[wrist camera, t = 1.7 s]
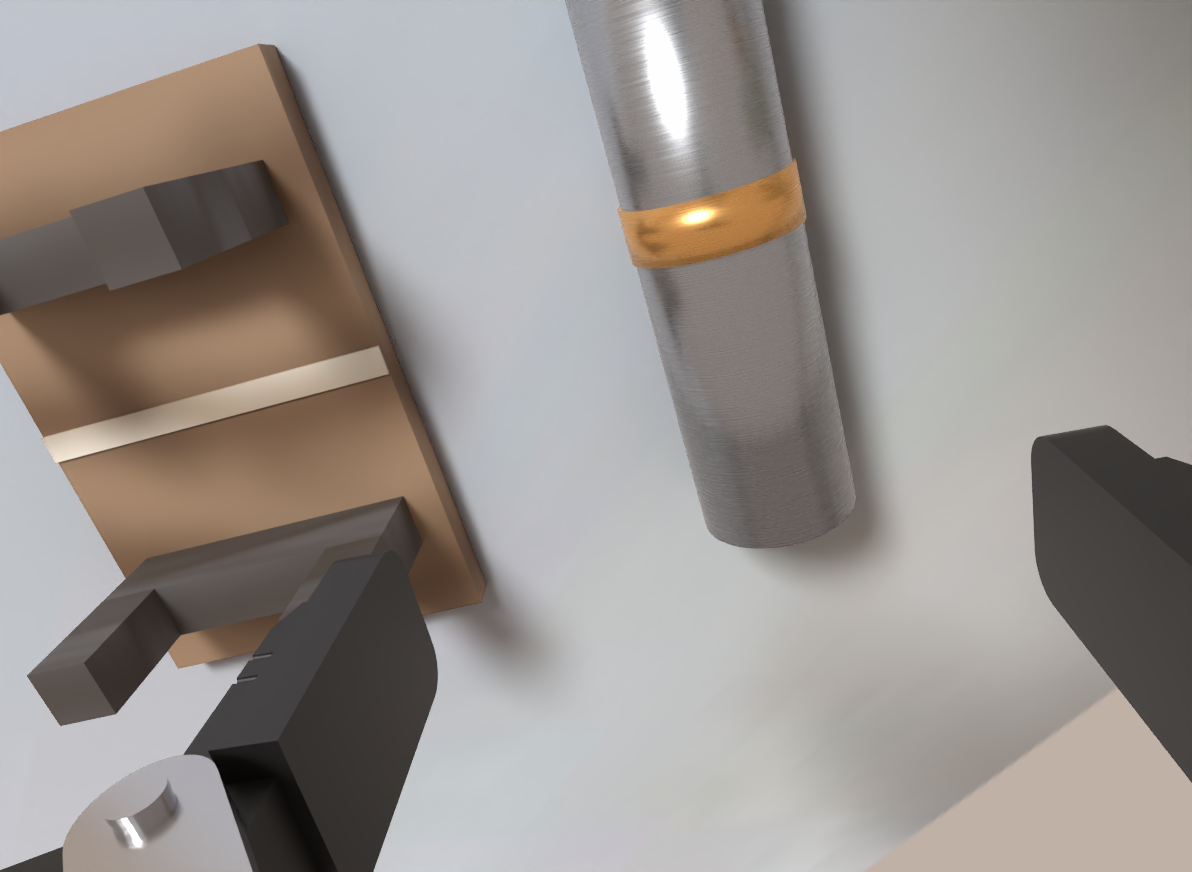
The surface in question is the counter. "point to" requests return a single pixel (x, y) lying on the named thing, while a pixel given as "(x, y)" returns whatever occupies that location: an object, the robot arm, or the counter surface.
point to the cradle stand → (208, 373)
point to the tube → (721, 257)
